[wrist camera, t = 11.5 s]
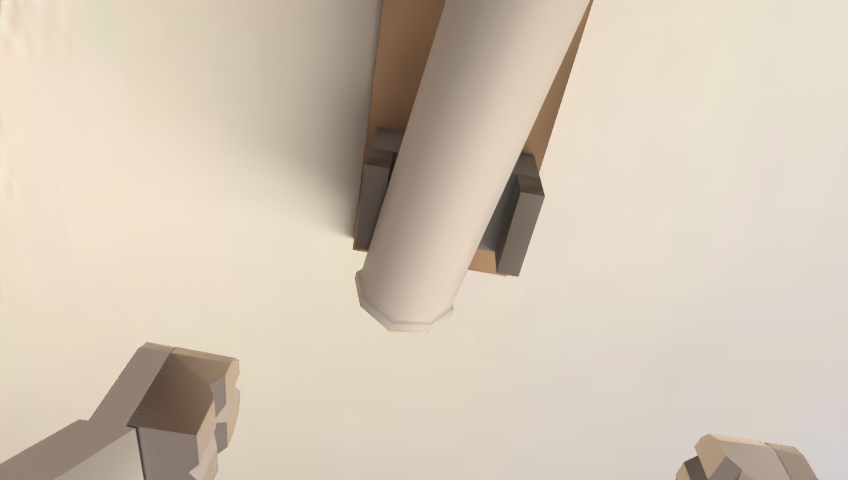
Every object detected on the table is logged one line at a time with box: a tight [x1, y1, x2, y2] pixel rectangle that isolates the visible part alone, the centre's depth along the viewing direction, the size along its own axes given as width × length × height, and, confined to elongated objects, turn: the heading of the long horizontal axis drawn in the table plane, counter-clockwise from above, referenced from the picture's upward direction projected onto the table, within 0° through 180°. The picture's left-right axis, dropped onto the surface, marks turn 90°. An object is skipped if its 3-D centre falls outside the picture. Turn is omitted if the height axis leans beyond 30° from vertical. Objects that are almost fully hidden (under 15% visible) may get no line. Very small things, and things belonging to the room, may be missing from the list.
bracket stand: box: [353, 0, 593, 276], centre depth 27 cm, size 10×28×6 cm, turn 170°
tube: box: [355, 0, 590, 332], centre depth 24 cm, size 5×5×25 cm
